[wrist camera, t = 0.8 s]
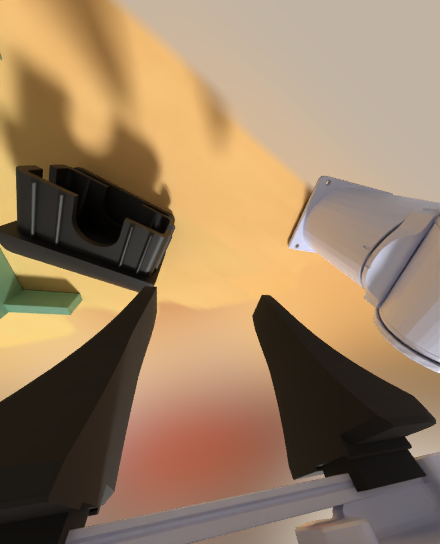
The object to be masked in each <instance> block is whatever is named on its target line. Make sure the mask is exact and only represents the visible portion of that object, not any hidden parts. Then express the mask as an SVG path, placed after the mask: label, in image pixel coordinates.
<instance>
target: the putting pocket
mask: <svg viewBox="0 0 440 544" xmlns="http://www.w3.org/2000/svg"><path fill="white" fill-rule="evenodd" d="M0 59H1V60H2V58H1V55H0ZM81 301H82V298H81V295H80V294H79V293H64V292H50V291H35V290H23V288H22V286H21V285H20V283H19V281H18V279H17V278H16V276H15V274H14V272H13V271H12V269H11V267H10V265H9V263H8V262H7V260H6V258H5V256H4V255H3V253H2V251H1V249H0V319H1V318H2V317H3V316H4V315H6V314H7V313H8V312H17V313H40V314H62V315H71V313H72V312H73V311H74V310H75V309H76V307H77V306H78V305H79V304H80V302H81Z"/></svg>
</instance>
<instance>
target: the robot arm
mask: <svg viewBox="0 0 440 544" xmlns="http://www.w3.org/2000/svg"><path fill="white" fill-rule="evenodd" d="M327 181H329V182H328V184H327V185H326V182H327ZM296 244H298V245H297V246H296V247H295V245H296ZM288 246H289V248H290V249H295V250H302V251H308V252H315V253H318V254H320V255H321V256H322V257H323V258H325V259H326V260H327V261H329V262H330V263H331V264H333V265H334V266H335V267H337V268H338V269H339V270H340V271H342V272H343V273H344V274H346V275H347V276H348V277H350V278H351V279H352V280H354V281H355V282H356V283H357V284H359V285H360V286H361V287H363V288H364V289H365V290H366V294H365V297H364V298H365V299H366V300H367V301H368V302H370V303H371V304H372V305H373V306H374V307H375V308H376V309H375V311H374V314H373V319H374V323H375V325H376V327H377V329H378V330H379V332H380V333H381V334H382V336H383V337H384V338H385V339H386V340H387V341H388V342H389V343H391V345H393V346H394V347H395V348H396V349H398V350H399V351H400V352H401V353H403V354H404V355H406V356H407V357H409V358H411V359H412V360H414V361H416V362H417V363H419V364H421V365H423V366H425V367H427V368H429V369H431V370H433V371H435V372H437V373H440V203H437V202H430V201H425V200H419V199H414V198H407V197H402V196H396V195H393V194H391V193H388V192H384V191H381V190H377V189H373V188H370V187H366V186H362V185H359V184H354V183H351V182H347V181H344V180H340V179H336V178H332V177H328V176H321V177H320V178H319V179H318V181H317V183H316V186H315V188H314V190H313V192H312V194H311V196H310V199H309V201H308V203H307V205H306V207H305V209H304V212H303V214H302V216H301V218H300V220H299V222H298V225H297V227H296V229H295V231H294V233H293V235H292V238H291V240H290V242H289V244H288ZM156 313H157V287H151V286H145V287H143V289H142V290H141V291H140V292H139V293H138V294H137V296H136V297H135V298H134V299H133V300H132V301H131V302H130V303H129V304H128V305H127V306H126V307H125V308H124V309H123V310H122V311H121V312H120V313H119V314H118V315H117V316H116V317H115V318H114V319H113V320H112V321H111V322H110V323H109V324H108V325H107V326H106V327H104V328H103V329H102V330H101V331H100V332H99V333H97V334H96V335H95V336H94V337H93V338H91V339H90V340H89V341H88V342H86V343H85V344H84V345H83V346H81V347H80V348H79V349H77V350H76V351H75V352H73V353H72V354H71V355H69V356H68V357H67V358H65V359H64V360H63V361H61V362H60V363H58V364H57V365H56V366H54V367H53V368H51V369H50V370H48V371H47V372H45V373H44V374H42V375H41V376H39V377H38V378H36V379H35V380H33V381H32V382H30V383H29V384H27V385H26V386H24V387H23V388H21V389H20V390H18V391H17V392H15V393H14V394H12V395H10V396H9V397H7V398H6V399H4V400H3V401H1V402H0V544H190V543H194V542H198V541H201V540H205V539H209V538H213V537H217V536H221V535H225V534H229V533H233V532H236V531H240V530H245V529H248V528H252V527H256V526H260V525H264V524H268V523H271V522H276V521H280V520H284V519H288V518H292V517H296V516H299V515H303V514H307V513H311V512H315V511H319V510H322V509H327V508H331V507H333V517H332V519H324V520H316V521H311V522H308V523H305V524H303V525H300V526H298V527H296V530H295V532H296V536H297V540H298V543H299V544H440V452H437V453H433V454H428V455H423V456H420V457H416V458H414V457H413V456H412V455H411V453H410V452H409V450H408V449H410V448H412V447H411V444H410V443H409V442H408V441H407V439H406V438H405V436H408V435H410V434H413V433H416V432H418V431H421V430H423V429H426V428H429V427H431V426H433V425H434V424H436V420H435V418H434V417H433V416H432V415H431V414H430V413H429V412H428V410H427V409H426V408H425V407H424V406H423V405H422V404H421V403H420V402H419V401H418V400H417V399H416V398H415V397H414V396H412V395H411V394H409V393H407V392H405V391H403V390H401V389H399V388H398V387H396V386H394V385H392V384H390V383H388V382H386V381H384V380H383V379H381V378H379V377H377V376H376V375H374V374H372V373H370V372H369V371H367V370H365V369H364V368H362V367H360V366H359V365H357V364H356V363H354V362H352V361H351V360H349V359H348V358H346V357H345V356H343V355H342V354H340V353H339V352H337V351H336V350H334V349H333V348H332V347H330V346H329V345H328V344H326V343H325V342H324V341H322V340H321V339H320V338H318V337H317V336H316V335H314V334H313V333H312V332H311V331H310V330H308V329H307V328H306V327H305V326H304V325H303V324H301V323H300V322H299V321H298V320H297V319H296V318H295V317H294V316H292V315H291V314H290V313H289V312H288V311H287V310H286V309H285V308H284V307H283V306H282V305H281V304H279V303H278V302H277V301H276V300H275V299H274V298H273V297H272V296H270V295H262V296H261V298H260V300H259V302H258V305H257V307H256V309H255V312H254V314H253V322H254V326H255V331H256V333H257V336H258V339H259V342H260V345H261V347H262V350H263V353H264V356H265V358H266V361H267V364H268V367H269V370H270V374H271V378H272V382H273V386H274V390H275V394H276V398H277V403H278V407H279V412H280V417H281V422H282V427H283V433H284V438H285V444H286V450H287V457H288V463H289V468H290V470H291V474H292V477H293V479H294V480H296V479H301V478H305V477H311V476H315V475H321V474H324V475H325V478H322V479H316V480H312V481H307V482H303V483H297V484H292V485H287V486H282V487H278V488H273V489H268V490H263V491H258V492H254V493H249V494H244V495H239V496H234V497H230V498H224V499H219V500H215V501H210V502H205V503H200V504H195V505H190V506H185V507H180V508H176V509H171V510H166V511H161V512H156V513H151V514H147V515H142V516H137V517H132V518H127V519H122V520H117V521H113V522H108V523H103V524H98V525H93V526H88V527H84V526H85V523H86V520H87V517H88V516H92V515H97V514H98V513H99V509H100V506H101V505H104V503H105V502H106V501H107V500H108V499H109V498H110V496H111V495H112V494H113V492H114V490H115V485H116V480H117V475H118V470H119V465H120V460H121V455H122V450H123V445H124V440H125V435H126V430H127V426H128V421H129V416H130V412H131V407H132V402H133V398H134V394H135V389H136V385H137V380H138V376H139V372H140V369H141V366H142V362H143V359H144V356H145V353H146V350H147V347H148V344H149V341H150V338H151V335H152V331H153V328H154V323H155V318H156Z"/></svg>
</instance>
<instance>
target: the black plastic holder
mask: <svg viewBox="0 0 440 544" xmlns="http://www.w3.org/2000/svg"><path fill="white" fill-rule="evenodd" d="M42 177H43V169H41V168H39V167H37V166H17V167H16V190H17V221H14V222H11V223H8V224H5V225H2V226H0V244H1V245H2V246H3V247H4V248H5V249H6V250H8V251H10V252H12V253H15V254H19V255H22V256H25V257H28V258H31V259H34V260H38V261H41V262H44V263H47V264H50V265H54V266H57V267H60V268H63V269H66V270H69V271H73V272H76V273H79V274H82V275H85V276H88V277H92V278H95V279H98V280H101V281H104V282H107V283H111V284H114V285H117V286H120V287H123V288H126V289H130V290H133V291H136V292H140V291H141V290H142V289H143V287H145V286H151V287H153V286H154V284H155V282H156V279H157V276H158V274H159V271H160V268H161V265H162V262H163V259H164V256H165V253H166V249H167V247H168V245H169V243H170V241H171V239H172V234H173V232H174V229H175V226H174V221H175V219H174V216H173V215H171V214H170V213H168V212H166V211H164V210H162V209H160V208H158V207H156V206H154V205H152V204H150V203H149V202H147V201H145V200H143V199H141V198H139V197H137V196H135V195H133V194H131V193H129V192H127V191H126V190H124V189H122V188H120V187H118V186H116V185H114V184H112V183H110V182H108V181H106V180H104V179H103V178H101V177H99V176H97V175H95V174H93V173H91V172H89V171H87V170H85V169H83V168H80V167H76V168H72V167H69V166H66V165H50V171H49V181H47V180H45V179H43V178H42Z"/></svg>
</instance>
